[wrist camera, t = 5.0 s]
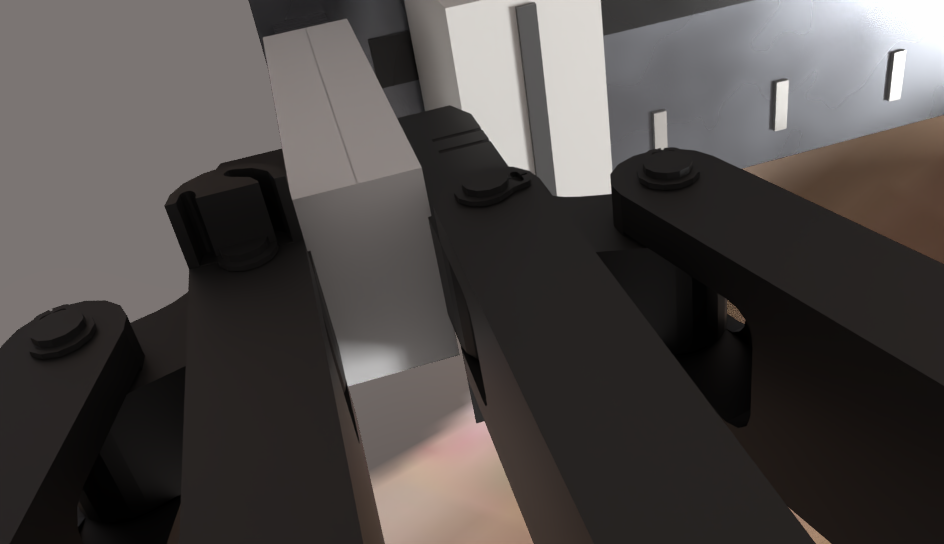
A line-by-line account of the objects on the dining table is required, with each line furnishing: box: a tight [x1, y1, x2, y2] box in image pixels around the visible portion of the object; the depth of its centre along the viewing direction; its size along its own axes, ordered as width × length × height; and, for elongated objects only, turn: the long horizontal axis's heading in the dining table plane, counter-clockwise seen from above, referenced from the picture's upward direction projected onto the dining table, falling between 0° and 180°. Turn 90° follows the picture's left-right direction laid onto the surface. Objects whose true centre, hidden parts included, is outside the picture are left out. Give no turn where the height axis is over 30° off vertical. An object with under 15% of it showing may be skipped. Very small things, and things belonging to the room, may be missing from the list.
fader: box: [404, 0, 612, 197], centre depth 16 cm, size 2×4×4 cm, turn 9°
